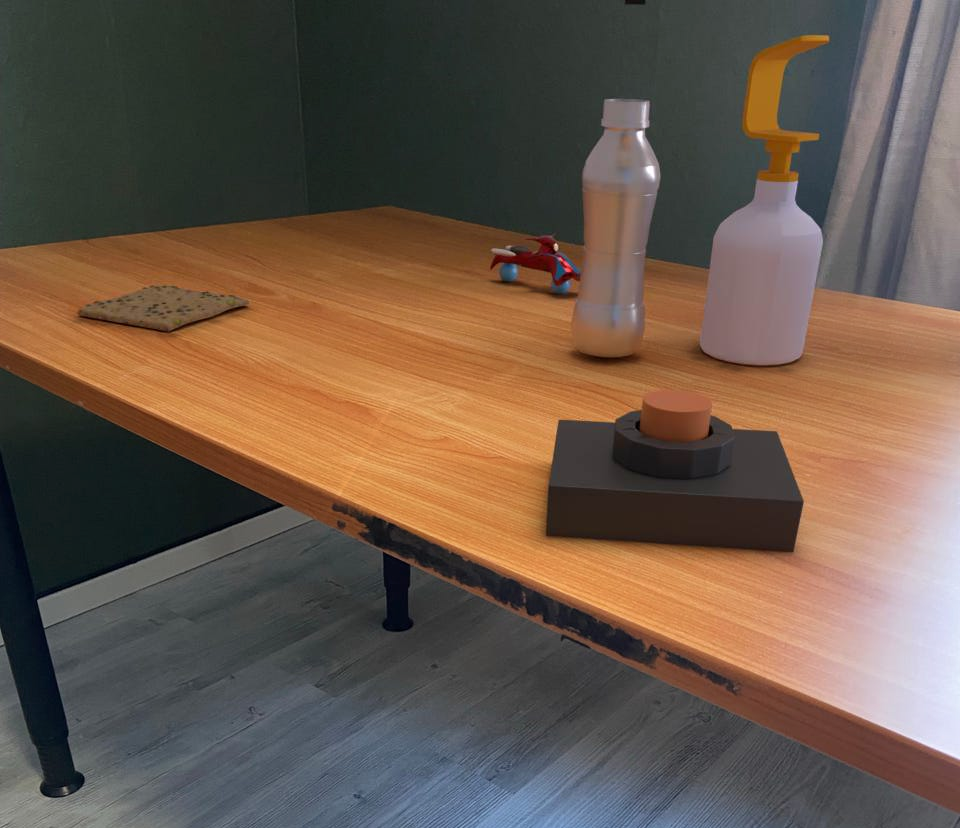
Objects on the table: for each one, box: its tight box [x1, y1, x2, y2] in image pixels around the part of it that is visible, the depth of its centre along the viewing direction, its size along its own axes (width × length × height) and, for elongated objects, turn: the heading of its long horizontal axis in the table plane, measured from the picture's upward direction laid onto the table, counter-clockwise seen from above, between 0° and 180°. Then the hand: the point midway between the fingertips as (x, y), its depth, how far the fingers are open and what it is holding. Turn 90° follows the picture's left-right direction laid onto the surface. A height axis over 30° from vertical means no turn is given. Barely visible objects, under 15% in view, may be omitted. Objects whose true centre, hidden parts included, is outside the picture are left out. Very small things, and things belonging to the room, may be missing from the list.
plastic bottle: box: [570, 98, 662, 358], centre depth 83 cm, size 6×7×20 cm
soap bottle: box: [699, 34, 830, 367], centre depth 83 cm, size 9×9×25 cm
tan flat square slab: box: [77, 285, 250, 332], centre depth 99 cm, size 12×12×1 cm
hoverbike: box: [489, 233, 581, 295], centre depth 109 cm, size 5×12×6 cm, turn 45°
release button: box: [639, 388, 713, 442], centre depth 58 cm, size 4×4×2 cm
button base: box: [545, 409, 805, 553], centre depth 60 cm, size 14×11×5 cm
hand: (634, 4), depth 74 cm, fingers closed
